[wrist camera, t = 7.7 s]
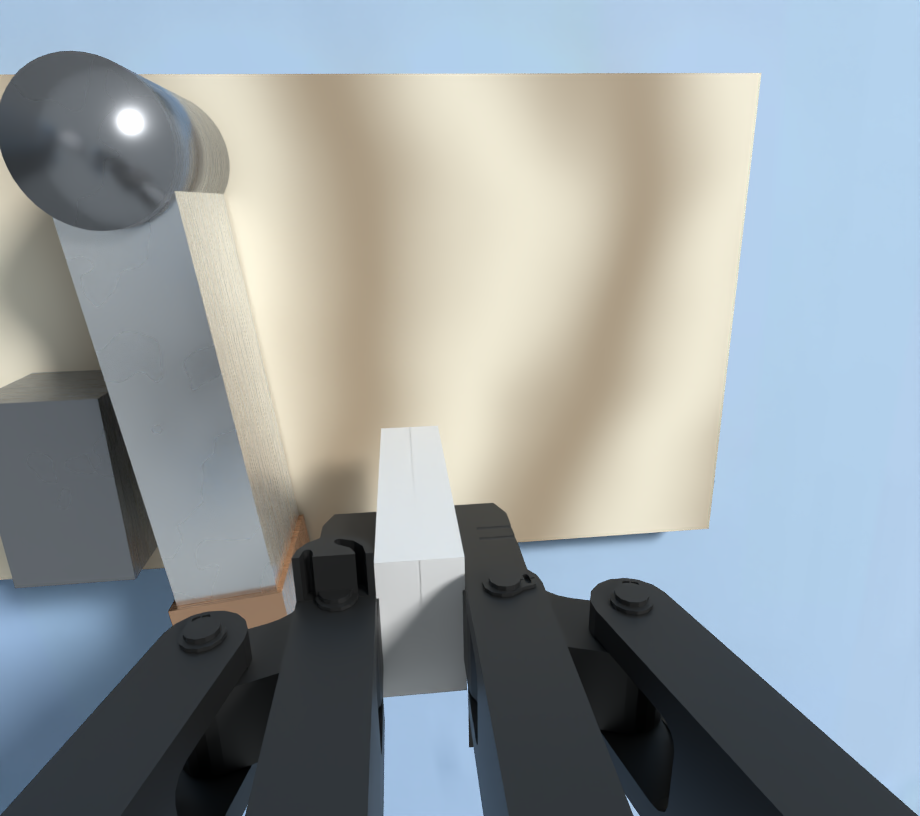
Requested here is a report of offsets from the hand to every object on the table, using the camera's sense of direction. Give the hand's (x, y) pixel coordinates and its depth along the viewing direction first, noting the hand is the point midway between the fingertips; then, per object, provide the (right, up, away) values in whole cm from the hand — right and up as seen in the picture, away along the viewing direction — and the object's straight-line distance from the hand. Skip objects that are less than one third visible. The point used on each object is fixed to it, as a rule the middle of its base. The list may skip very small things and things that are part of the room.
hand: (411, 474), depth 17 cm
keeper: (-9, 0, +2) cm, 9 cm away
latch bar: (-6, +3, +1) cm, 7 cm away
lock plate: (-2, +4, +3) cm, 6 cm away
